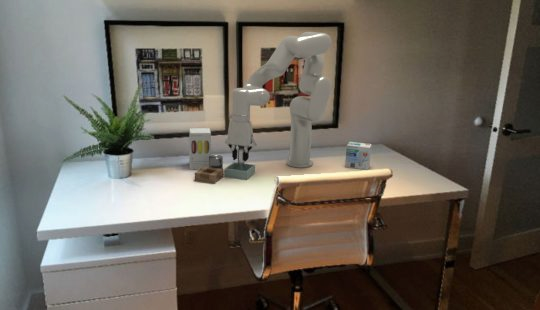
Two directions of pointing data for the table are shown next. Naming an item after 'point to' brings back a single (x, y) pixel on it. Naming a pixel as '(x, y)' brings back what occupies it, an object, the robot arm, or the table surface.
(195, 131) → the supplement box
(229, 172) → the tray
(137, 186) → the table surface
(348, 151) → the light bulb box
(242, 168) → the pin
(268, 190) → the table surface
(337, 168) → the table surface
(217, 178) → the brown square open box
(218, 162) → the grey cylinder
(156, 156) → the table surface
